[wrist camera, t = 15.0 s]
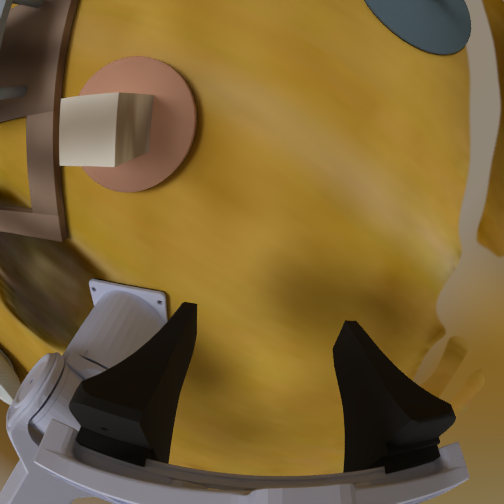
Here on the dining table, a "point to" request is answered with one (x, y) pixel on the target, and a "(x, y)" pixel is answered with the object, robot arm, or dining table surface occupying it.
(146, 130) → the block
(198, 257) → the dining table surface
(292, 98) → the dining table surface
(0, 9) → the grey miniature stool
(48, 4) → the puzzle board
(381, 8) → the cocktail glass
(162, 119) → the dish
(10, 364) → the cereal bowl
